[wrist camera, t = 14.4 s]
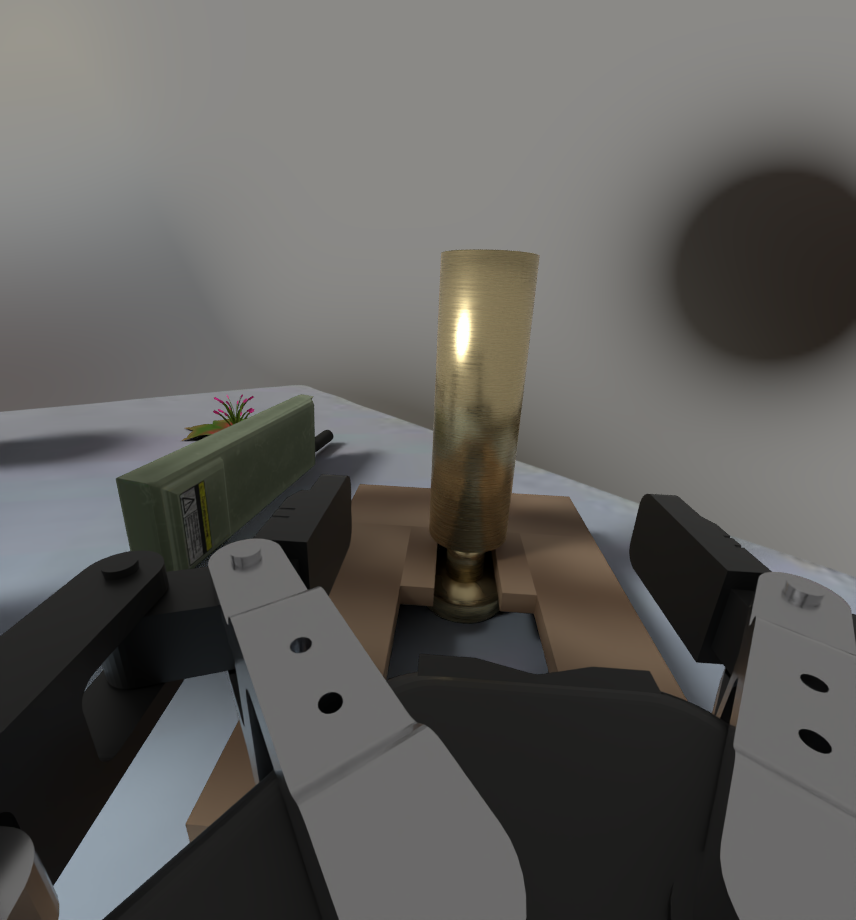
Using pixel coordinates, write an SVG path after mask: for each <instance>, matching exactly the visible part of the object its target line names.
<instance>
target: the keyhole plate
mask: <svg viewBox="0 0 856 920" xmlns="http://www.w3.org/2000/svg"><path fill="white" fill-rule="evenodd" d="M430 497H431V488H415V487H398V486H382V485H365V484H360V485H359V487H358V489H357V491H356V493H355V495H354V497H353V499H352V501H351V511H352V534H351V541H350V546H349V549H348V551H347V554H346V556H345V559H344V561H343V563H342V566H341V568H340V571H339V573H338V575H337V578H336V580H335V582H334V585H333V587H332V590H331V592H330V594H329V598H330V599H331V601H332V602H333V604H334V605H335V607H336V608H337V610H338V611H339V613H340V614H341V615H342V617H343V618H344V620H345V621H346V623H347V624H348V626H349V627H350V629H351V630H352V632H353V633H354V635H355V636H356V638H357V639H358V640H359V642H360V643H361V645H362V646H363V648H364V649H365V651H366V652H367V654H368V655H369V657H370V658H371V660H372V661H373V663H374V664H375V665H376V667H377V668H378V670H379V671H380V673H381V674H382V676H383V677H384V679H385V680H386V678H387V673H388V667H389V662H390V656H391V650H392V645H393V639H394V634H395V628H396V623H397V617H398V612H399V606H400V604H406V605H420V606H433V600H434V586H435V572H436V558H437V544H438V543H437V542H435V541H434V540H433V538H432V537H431V536H430V533H429V519H430ZM491 552H492V559H493V566H494V573H495V580H496V586H497V593H498V600H499V607H500V611H504V612H518V613H532V614H534V616H535V620H536V624H537V628H538V632H539V636H540V640H541V644H542V648H543V651H544V655H545V659H546V663H547V667H548V671H549V673H552V672H559V671H566V670H572V669H579V668H586V667H606V668H619V669H633V670H646V671H650V672H651V674H652V676H653V678H654V680H655V682H656V684H657V686H658V687H659V689H660V691H661V692H665V693H668V694H671V695H673V696H676V697H679V698H682V699H684V700H686V701H687V699H686V697H685V696H684V694H683V692H682V690H681V689H680V687H679V685H678V684H677V682H676V680H675V678H674V677H673V675H672V673H671V672H670V670H669V668H668V666H667V665H666V663H665V661H664V659H663V658H662V656H661V654H660V653H659V651H658V649H657V647H656V646H655V644H654V642H653V640H652V639H651V637H650V635H649V634H648V632H647V630H646V628H645V627H644V625H643V623H642V621H641V620H640V618H639V616H638V615H637V613H636V611H635V609H634V608H633V606H632V604H631V603H630V601H629V599H628V597H627V596H626V594H625V592H624V590H623V589H622V587H621V585H620V584H619V582H618V580H617V578H616V577H615V575H614V573H613V571H612V570H611V568H610V566H609V565H608V563H607V561H606V559H605V558H604V556H603V554H602V553H601V551H600V549H599V547H598V546H597V544H596V542H595V540H594V539H593V537H592V535H591V534H590V532H589V530H588V528H587V527H586V525H585V523H584V521H583V520H582V518H581V516H580V515H579V513H578V511H577V509H576V508H575V506H574V504H573V503H572V501H571V499H570V497H564V496H548V495H531V494H515V493H511V502H510V510H509V519H508V527H507V536H506V540H505V542H504V543H503V544H502V545H501V546H500V547H498V548H496V549H494V550H491ZM254 786H255V781H254V777H253V773H252V768H251V763H250V758H249V754H248V750H247V746H246V742H245V738H244V735H243V731H242V727H241V724H240V720H239V721H238V723H237V725H236V727H235V729H234V731H233V733H232V734H231V736H230V738H229V740H228V742H227V744H226V746H225V748H224V750H223V752H222V754H221V756H220V758H219V760H218V762H217V764H216V766H215V768H214V770H213V771H212V773H211V775H210V777H209V779H208V781H207V783H206V785H205V787H204V789H203V791H202V793H201V795H200V797H199V799H198V801H197V803H196V805H195V807H194V808H193V810H192V812H191V814H190V816H189V818H188V820H187V822H186V828H187V832H188V836H189V840H190V842H192V841H193V840H194V839H195V838H196V837H197V836H198V835H200V834H201V833H202V832H203V831H204V830H205V829H206V828H208V827H209V826H210V825H211V824H212V823H213V822H214V821H215V820H217V819H218V818H219V817H220V816H221V815H222V814H223V813H225V812H226V811H227V810H228V809H229V808H230V807H231V806H233V805H234V804H235V803H236V802H237V801H238V800H239V799H241V798H242V797H243V796H244V795H245V794H246V793H247V792H249V791H250V790H251V789H252V788H253V787H254Z"/></svg>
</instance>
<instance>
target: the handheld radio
mask: <svg viewBox="0 0 856 920" xmlns="http://www.w3.org/2000/svg"><path fill="white" fill-rule="evenodd" d="M312 398H313V396H308V395H302V394H301V395H298V396H295V397H293V398H291V399H289V400H286V401H284V402H282V403H280V404H278V405H276V406H273V407H271V408H269V409H267V410H265V411H262V412H260V413H258V414H256V415H254V416H251V417H249V418H247V419H245V420H243V421H240V422H238V423H236V424H234V425H232V426H230V427H227V428H225V429H223V430H221V431H219V432H216V433H214V434H212V435H210V436H208V437H205V438H203V439H201V440H199V441H197V442H194V443H192V444H190V445H188V446H186V447H184V448H181V449H179V450H177V451H175V452H173V453H170V454H168V455H166V456H164V457H162V458H159V459H157V460H155V461H153V462H151V463H148V464H146V465H144V466H142V467H140V468H138V469H135V470H133V471H131V472H129V473H127V474H124V475H122V476H120V477H118V478H116V483H117V488H118V493H119V497H120V502H121V507H122V512H123V517H124V522H125V527H126V531H127V536H128V541H129V546H130V551H143V550H144V551H152V552H156V553H159V554H160V555H161V556H162V557H163V558H164V563H165V568H166V572H169V571H177V570H185V569H193V568H194V567H195V566H197V565H198V564H199V563H200V562H201V561H203V560H204V559H205V558H206V557H207V556H208V555H210V554H211V553H212V552H213V551H214V550H215V549H217V548H218V547H219V546H220V545H221V544H222V543H224V542H225V541H226V540H227V539H228V538H230V537H231V536H232V535H233V534H234V533H235V532H237V531H238V530H239V529H240V528H241V527H242V526H244V525H245V524H246V523H247V522H248V521H250V520H251V519H252V518H253V517H254V516H255V515H257V514H258V513H259V512H260V511H261V510H262V509H264V508H265V507H266V506H267V505H268V504H269V503H271V502H272V501H273V500H274V499H275V498H276V497H278V496H279V495H280V494H281V493H282V492H284V491H285V490H286V489H287V488H288V487H289V486H291V485H292V484H293V483H294V482H295V481H296V480H298V479H299V478H300V477H301V476H302V475H303V474H305V473H306V472H307V471H308V470H309V469H310V468H312V467H313V466H314V465H315V452H316V451H318V450H319V449H321V448H322V447H323V446H325V445H326V444H327V443H328V442H330V441H331V440H332V439H333V433H332V432H331V431H330V430H324V431H323V432H322V433H320V434H319V435H317V436H316V437H315V428H314V404H313V401H312Z"/></svg>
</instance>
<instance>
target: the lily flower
mask: <svg viewBox="0 0 856 920" xmlns="http://www.w3.org/2000/svg"><path fill="white" fill-rule="evenodd" d="M242 396H243V394H242V395H241V398H242ZM227 397H228V396H227ZM241 398H240V399H241ZM252 398H254V397H253V396H252V397H250V398H249V399H245V400H244V401H243V403H242V404H241V406H240V409H239V411H238V413H237V412H236V417H235V416H234V415H235V413H234V414H233V412H234V410H233V412H232V408H233V407H232V408H231V406H232V404H231V406H230V405H229V402H227V401H226V402H227V404H228V405H229V406H230V407H229V408H228V406H227V405H226V404H225V403H224V402H223V401H222V400H219V399H218V398H216V397H214V399H216V400H217V401H219V402H220V403H222V404H223V405H224V406H225V407H226V409H227V411H228V413H229V415H230V417H231V418H230V417H229V415H228V414H227V413H224V411H222V410H220V409H218V411H219V412H222V413H224V414H225V415H226V416H228V418H229V419H225V418H224V417H223V416H222V415H221V414H220V413H219V412H217V411H215V410H214V411H213V412H214V413H215V414H219V415H220V416H222V417H223V419H224V420H218V421H216V420H215V421H213V424H203V425H198V426H193V427H191V428H190V427H188V428H186V429H190V430H193V431H192V432H191V433H190V434H189V435H188V437H187V438H185V439H183V440H187V439H191V438H195V437H199V436H203V435H212V434H214V433H216V432H219V431H221V430H223V429H225V428H227V427H230V426H232V425H234V424H236V423H238V422H240V421H243V420H245V419H247V416H248V415H249V414H250V413H252V412H253V411H254V409H252V408H250V409H249V410H247V412H249V411H250V412H249V413H248V414H247V416H246V417H245V418H244V419H242V418H243V416H244V415H245V413H247V412H245V413H244V414H243V415H242V417H241V418H240V416H241V414H242V412H241V411H242V409H243V406H244V405H245V404H246V402H247V401H248V400H251V399H252ZM228 399H229V397H228ZM229 401H230V400H229ZM238 402H239V403H240V400H239V401H237V405H238V406H239V403H238ZM230 403H231V402H230ZM237 410H238V407H237ZM183 440H182V441H183Z"/></svg>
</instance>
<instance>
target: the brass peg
mask: <svg viewBox="0 0 856 920" xmlns="http://www.w3.org/2000/svg"><path fill="white" fill-rule="evenodd" d="M538 265H539V255H537V254H533V253H527V252H519V251H507V250H452V251H445V252H442V253H441V271H440V293H439V315H438V340H437V362H436V384H435V407H434V429H433V451H432V474H431V497H430V519H429V533H430V536H431V537H432V538H433V540H434V541H435V542H437V543H438V544H440V545H441V546H443V547H446V548H447V551H444V552H440V553H438V554H437V558H436V572H435V586H434V600H433V606H427V607H428V608H429V609H430V610H431V611H432V612H434V613H435V614H436V615H438V616H440V617H442V618H444V619H447V620H450V621H453V622H459V623H476V622H481V621H484V620H487V619H489V618H491V617H493V616H494V615H495V614H496V613H497V612H498V611H499V610H500V607H499V600H498V593H497V586H496V580H495V573H494V566H493V559H492V558H491V557H489V556H487V555H485V552H488V551H491V550H494V549H496V548H498V547H500V546H501V545H502V544H503V543H504V542H505V540H506V536H507V527H508V519H509V510H510V502H511V493H512V485H513V476H514V468H515V458H516V451H517V442H518V434H519V425H520V417H521V409H522V400H523V391H524V383H525V374H526V366H527V357H528V349H529V341H530V332H531V324H532V315H533V307H534V299H535V290H536V282H537V273H538Z"/></svg>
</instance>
